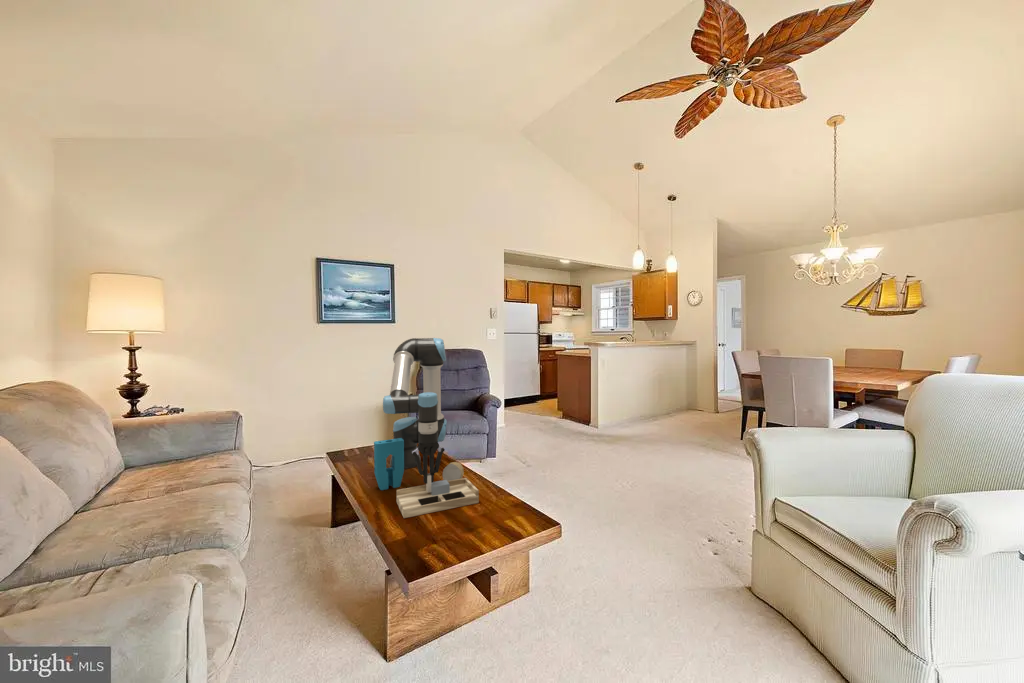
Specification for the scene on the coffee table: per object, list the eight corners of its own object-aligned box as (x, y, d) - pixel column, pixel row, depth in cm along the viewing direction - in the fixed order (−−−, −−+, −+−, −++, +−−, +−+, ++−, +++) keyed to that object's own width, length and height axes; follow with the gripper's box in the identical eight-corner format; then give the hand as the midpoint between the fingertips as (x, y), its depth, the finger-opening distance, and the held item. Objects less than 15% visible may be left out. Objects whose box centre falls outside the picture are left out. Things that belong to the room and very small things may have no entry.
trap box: (396, 502, 156) (396, 489, 156) (466, 489, 169) (466, 477, 168) (403, 518, 142) (403, 504, 142) (478, 502, 155) (478, 490, 155)
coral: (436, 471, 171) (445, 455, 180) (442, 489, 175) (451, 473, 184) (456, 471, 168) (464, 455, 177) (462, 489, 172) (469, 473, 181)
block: (429, 491, 159) (429, 482, 159) (446, 488, 162) (446, 479, 162) (432, 495, 155) (432, 486, 155) (449, 492, 158) (449, 483, 158)
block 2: (402, 482, 177) (401, 437, 177) (404, 485, 173) (404, 440, 172) (374, 487, 171) (373, 441, 171) (376, 491, 167) (375, 444, 167)
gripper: (413, 436, 150) (414, 497, 151) (446, 432, 156) (447, 491, 156) (409, 431, 157) (410, 490, 158) (441, 428, 163) (442, 484, 163)
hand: (428, 490), depth 157 cm, fingers closed
